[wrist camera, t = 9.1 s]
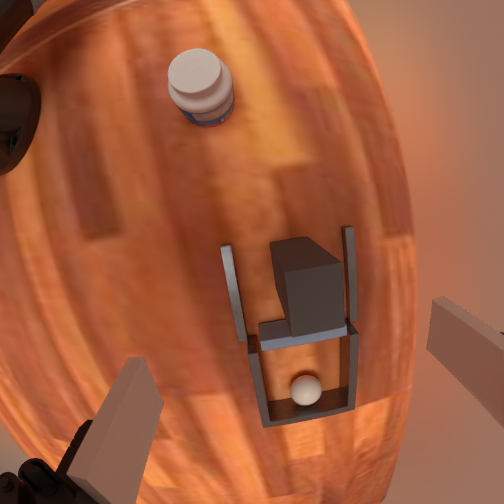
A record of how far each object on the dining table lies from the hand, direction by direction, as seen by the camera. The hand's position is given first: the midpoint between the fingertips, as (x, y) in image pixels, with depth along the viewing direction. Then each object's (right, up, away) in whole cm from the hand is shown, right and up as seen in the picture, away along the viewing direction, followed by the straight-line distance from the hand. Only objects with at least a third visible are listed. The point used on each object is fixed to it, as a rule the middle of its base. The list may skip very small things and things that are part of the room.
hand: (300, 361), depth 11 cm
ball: (+5, -13, +20) cm, 25 cm away
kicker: (+3, +1, +19) cm, 19 cm away
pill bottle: (-7, +20, +15) cm, 26 cm away
